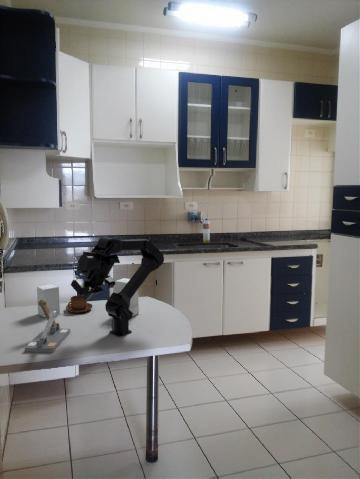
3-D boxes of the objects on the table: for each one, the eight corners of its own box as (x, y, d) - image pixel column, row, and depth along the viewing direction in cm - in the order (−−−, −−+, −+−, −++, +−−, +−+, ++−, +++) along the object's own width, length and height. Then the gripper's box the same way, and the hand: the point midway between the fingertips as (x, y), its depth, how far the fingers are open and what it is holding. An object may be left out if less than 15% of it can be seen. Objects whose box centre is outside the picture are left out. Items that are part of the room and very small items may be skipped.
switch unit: (70, 332, 162) (70, 322, 162) (53, 352, 144) (52, 341, 143) (45, 331, 163) (44, 322, 162) (25, 351, 144) (24, 341, 144)
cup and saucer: (83, 316, 182) (83, 302, 181) (60, 313, 186) (59, 299, 185) (97, 308, 193) (97, 295, 192) (75, 305, 197) (74, 292, 196)
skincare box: (139, 314, 185) (139, 280, 183) (129, 318, 179) (129, 283, 177) (124, 310, 189) (124, 277, 187) (115, 314, 184) (114, 280, 181)
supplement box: (60, 314, 183) (59, 286, 181) (44, 318, 179) (42, 289, 177) (53, 310, 189) (52, 283, 187) (37, 313, 184) (36, 286, 182)
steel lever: (46, 342, 148) (59, 311, 146) (43, 345, 145) (57, 314, 143) (39, 338, 148) (52, 308, 146) (36, 341, 145) (49, 310, 143)
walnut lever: (59, 326, 161) (45, 297, 159) (57, 328, 158) (42, 299, 156) (53, 328, 161) (38, 300, 159) (51, 331, 158) (36, 302, 157)
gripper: (106, 253, 166) (89, 282, 171) (70, 257, 150) (54, 289, 155) (123, 271, 161) (106, 300, 167) (89, 278, 145) (71, 310, 151)
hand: (84, 299), depth 160 cm, fingers closed
